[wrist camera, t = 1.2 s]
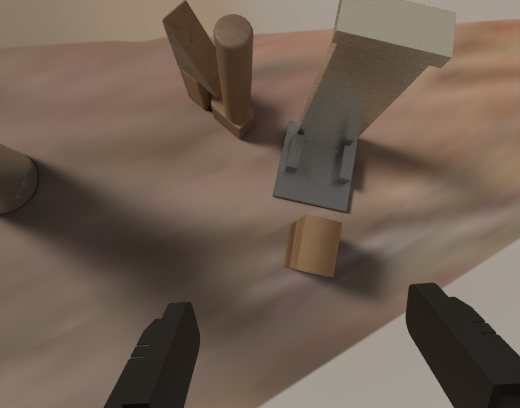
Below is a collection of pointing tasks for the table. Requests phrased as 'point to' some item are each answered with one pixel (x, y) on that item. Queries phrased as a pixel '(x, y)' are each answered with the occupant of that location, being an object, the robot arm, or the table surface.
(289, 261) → the brown rectangular block
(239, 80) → the wooden rod assembly
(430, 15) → the grey stand
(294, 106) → the table surface
